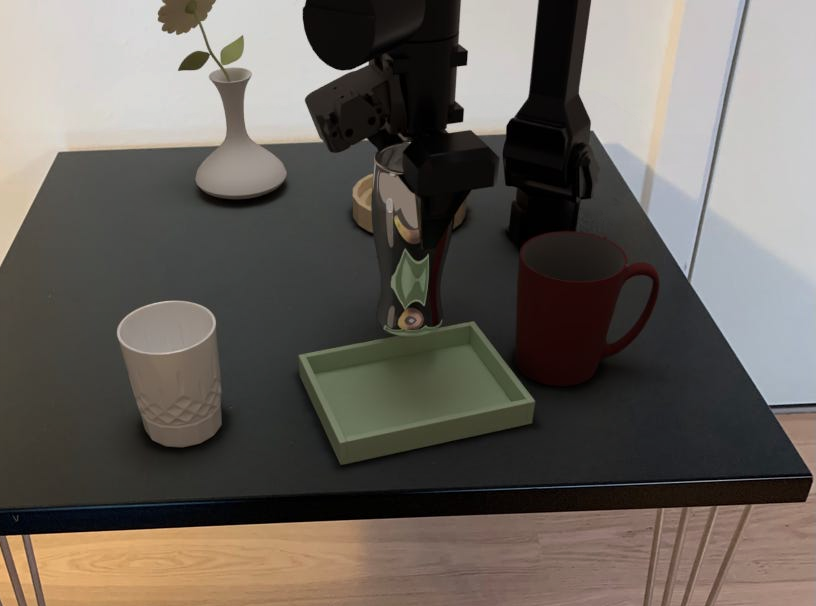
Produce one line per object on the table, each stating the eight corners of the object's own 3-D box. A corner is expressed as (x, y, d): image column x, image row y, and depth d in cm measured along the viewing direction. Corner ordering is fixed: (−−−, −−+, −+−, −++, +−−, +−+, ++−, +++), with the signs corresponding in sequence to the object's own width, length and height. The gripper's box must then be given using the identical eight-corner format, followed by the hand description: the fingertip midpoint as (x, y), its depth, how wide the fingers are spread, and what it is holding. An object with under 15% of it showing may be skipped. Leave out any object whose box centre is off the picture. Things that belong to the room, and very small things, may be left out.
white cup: (142, 400, 82) (121, 303, 75) (229, 393, 82) (216, 297, 75) (135, 456, 76) (111, 357, 69) (229, 449, 76) (215, 350, 69)
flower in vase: (268, 163, 119) (250, -52, 102) (301, 196, 112) (287, -30, 95) (173, 183, 116) (138, -37, 99) (200, 219, 108) (167, -13, 91)
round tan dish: (440, 184, 113) (441, 160, 111) (482, 230, 104) (484, 206, 102) (339, 200, 110) (338, 176, 108) (373, 249, 101) (373, 224, 99)
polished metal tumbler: (443, 343, 79) (453, 177, 69) (364, 336, 80) (364, 172, 70) (452, 302, 84) (463, 142, 74) (378, 295, 85) (379, 137, 75)
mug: (634, 341, 86) (659, 234, 79) (644, 397, 80) (672, 286, 72) (507, 334, 88) (519, 229, 80) (507, 388, 81) (520, 279, 74)
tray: (472, 342, 87) (474, 320, 85) (532, 423, 77) (535, 401, 76) (299, 376, 84) (298, 354, 82) (340, 465, 74) (339, 442, 73)
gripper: (282, 9, 71) (294, 198, 81) (350, 85, 57) (354, 300, 68) (416, -6, 73) (410, 180, 83) (512, 65, 60) (491, 276, 70)
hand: (413, 230), depth 76 cm, fingers closed on polished metal tumbler, 7 cm apart
